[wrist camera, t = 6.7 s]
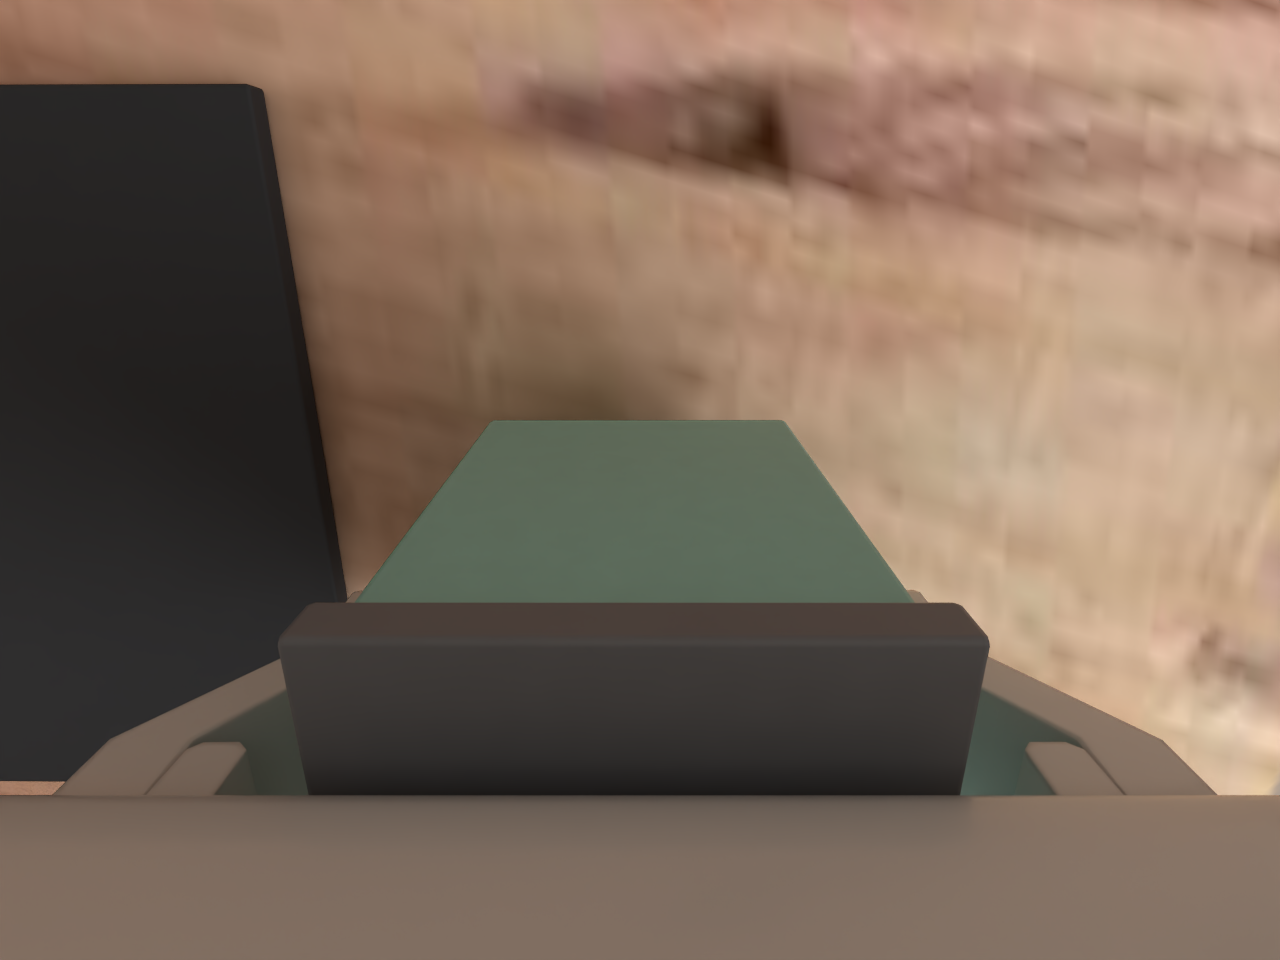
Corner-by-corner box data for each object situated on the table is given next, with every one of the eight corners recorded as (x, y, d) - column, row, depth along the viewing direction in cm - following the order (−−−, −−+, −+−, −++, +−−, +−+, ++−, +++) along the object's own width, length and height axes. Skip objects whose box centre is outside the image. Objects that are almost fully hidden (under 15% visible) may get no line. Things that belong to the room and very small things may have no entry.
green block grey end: (499, 677, 14) (368, 1098, 7) (477, 406, 12) (271, 639, 5) (776, 677, 14) (902, 1099, 7) (798, 406, 12) (995, 639, 5)
